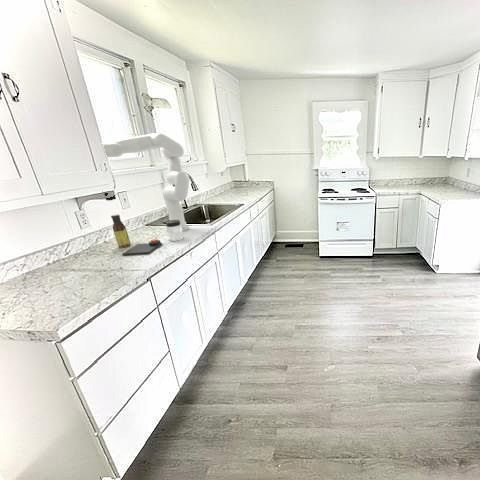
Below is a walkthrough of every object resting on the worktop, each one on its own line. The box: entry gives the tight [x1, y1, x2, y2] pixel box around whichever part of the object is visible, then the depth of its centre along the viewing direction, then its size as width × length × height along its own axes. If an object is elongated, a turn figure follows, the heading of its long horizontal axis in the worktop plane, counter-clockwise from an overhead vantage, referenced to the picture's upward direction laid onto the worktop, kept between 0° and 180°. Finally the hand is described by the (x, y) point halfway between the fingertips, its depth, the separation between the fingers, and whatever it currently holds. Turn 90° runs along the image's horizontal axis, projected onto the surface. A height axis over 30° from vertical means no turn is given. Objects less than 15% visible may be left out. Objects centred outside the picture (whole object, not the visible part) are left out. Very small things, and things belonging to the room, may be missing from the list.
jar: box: [165, 219, 184, 242], centre depth 170 cm, size 9×8×12 cm
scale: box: [121, 239, 163, 257], centre depth 154 cm, size 16×14×3 cm
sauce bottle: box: [110, 213, 131, 249], centre depth 158 cm, size 7×6×20 cm
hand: (111, 199), depth 151 cm, fingers closed
